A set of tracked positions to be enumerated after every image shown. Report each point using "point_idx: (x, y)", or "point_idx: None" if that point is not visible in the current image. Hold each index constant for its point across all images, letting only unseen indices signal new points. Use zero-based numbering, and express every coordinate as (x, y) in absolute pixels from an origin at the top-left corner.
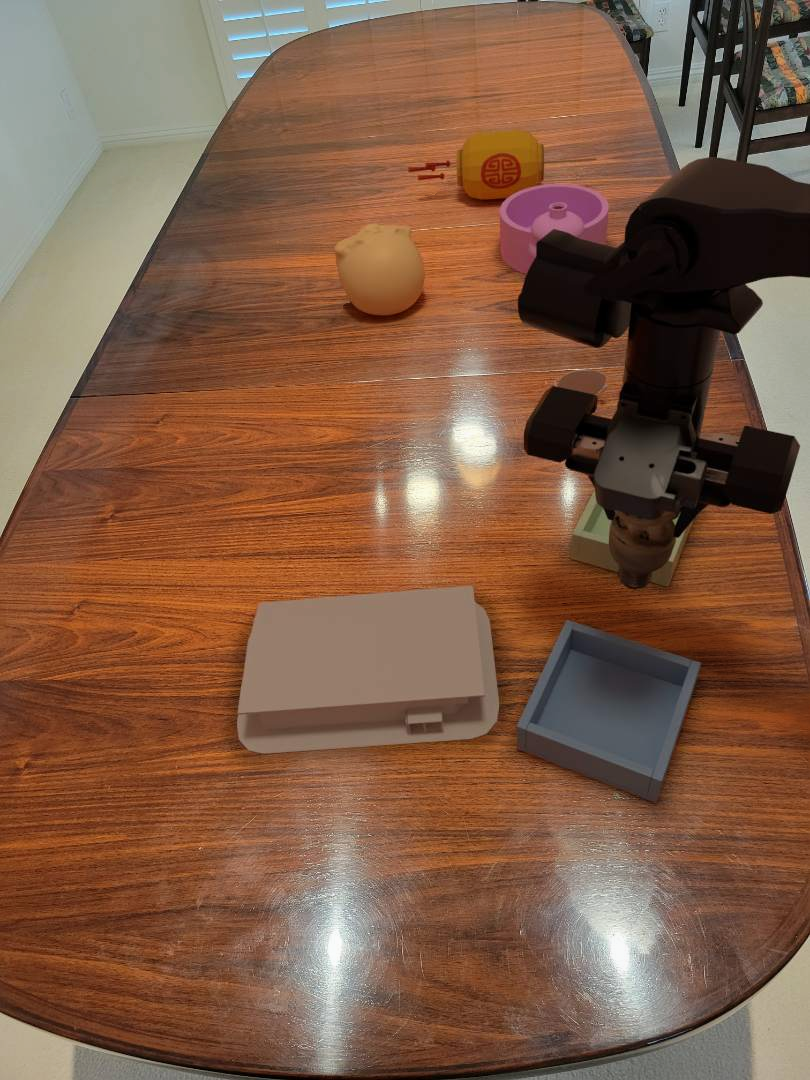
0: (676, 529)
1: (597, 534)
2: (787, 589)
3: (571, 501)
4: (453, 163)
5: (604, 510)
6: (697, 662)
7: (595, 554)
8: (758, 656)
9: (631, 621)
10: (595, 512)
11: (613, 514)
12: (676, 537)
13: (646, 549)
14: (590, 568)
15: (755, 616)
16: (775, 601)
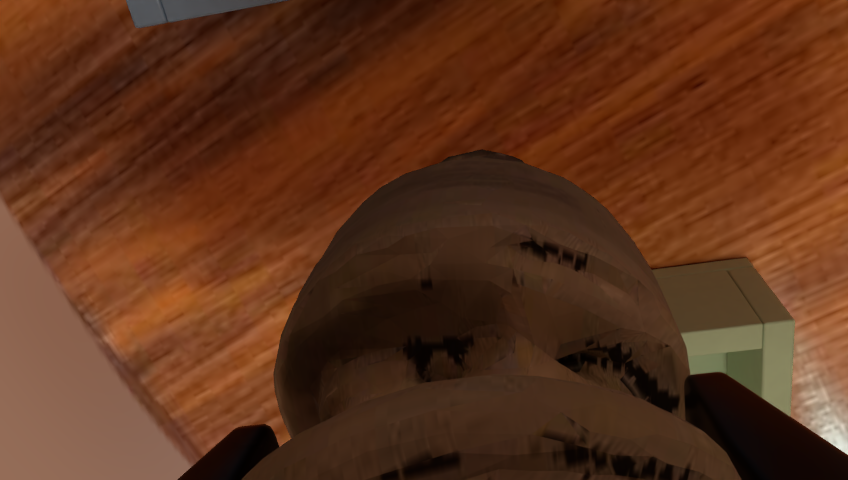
0: (223, 477)
1: (703, 370)
2: (182, 423)
3: None
4: None
5: (791, 419)
6: (144, 21)
7: (679, 294)
8: (118, 204)
9: (470, 133)
10: None
11: (703, 417)
12: (250, 425)
13: (375, 268)
14: (672, 253)
15: (196, 317)
16: (184, 379)
